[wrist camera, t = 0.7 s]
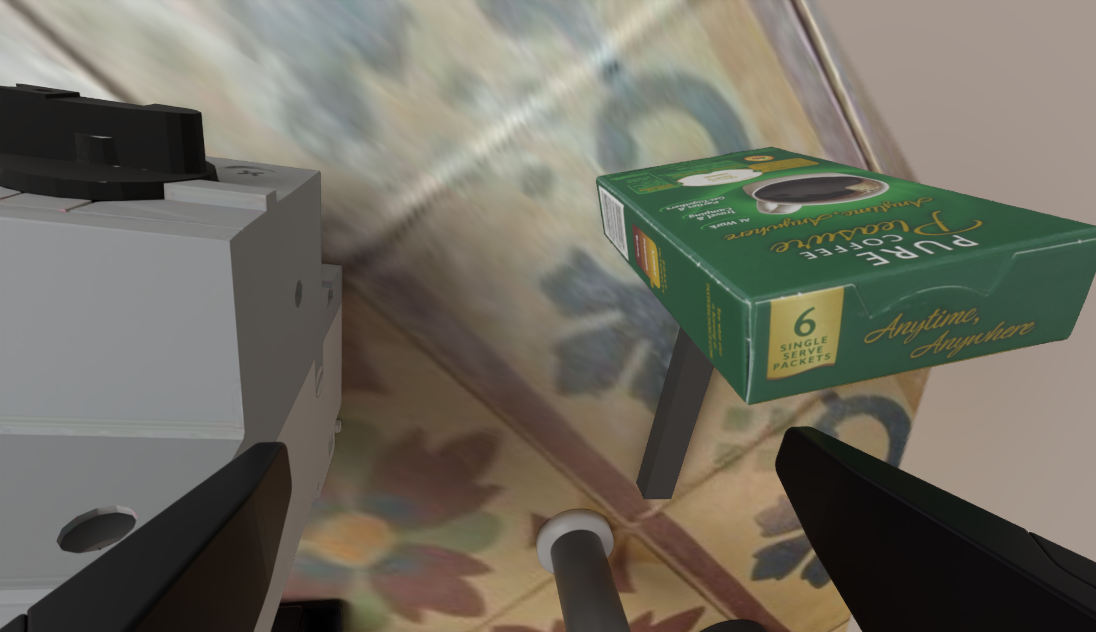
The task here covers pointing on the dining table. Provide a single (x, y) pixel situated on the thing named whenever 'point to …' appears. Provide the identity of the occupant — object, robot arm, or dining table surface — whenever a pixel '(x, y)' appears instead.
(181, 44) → the dining table surface
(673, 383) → the dark grey rectangular bar
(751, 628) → the travel mug
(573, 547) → the cord spool
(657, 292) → the coffee box
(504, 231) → the dining table surface
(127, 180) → the circuit breaker
